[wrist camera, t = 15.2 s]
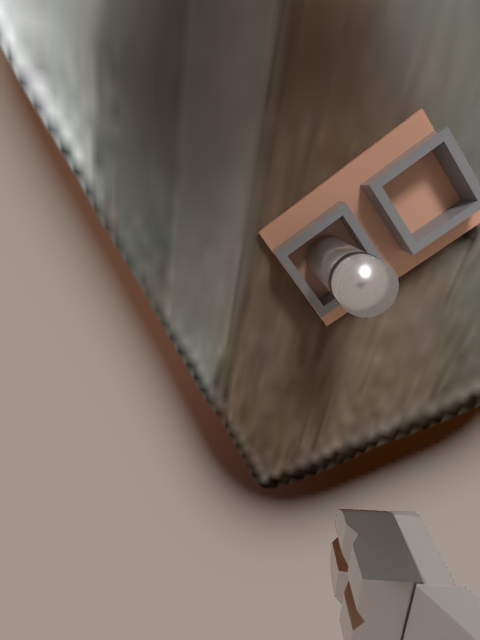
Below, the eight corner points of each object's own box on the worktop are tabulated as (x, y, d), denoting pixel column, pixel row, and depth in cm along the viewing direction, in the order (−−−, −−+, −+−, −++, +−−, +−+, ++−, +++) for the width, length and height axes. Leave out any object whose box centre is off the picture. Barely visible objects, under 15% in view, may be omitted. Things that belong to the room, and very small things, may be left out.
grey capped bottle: (297, 252, 40) (324, 282, 27) (332, 226, 39) (378, 244, 26) (321, 285, 41) (358, 329, 28) (355, 260, 40) (411, 294, 27)
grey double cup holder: (258, 231, 41) (259, 236, 37) (416, 110, 37) (437, 101, 33) (324, 322, 44) (332, 336, 40) (478, 218, 40) (503, 221, 36)
